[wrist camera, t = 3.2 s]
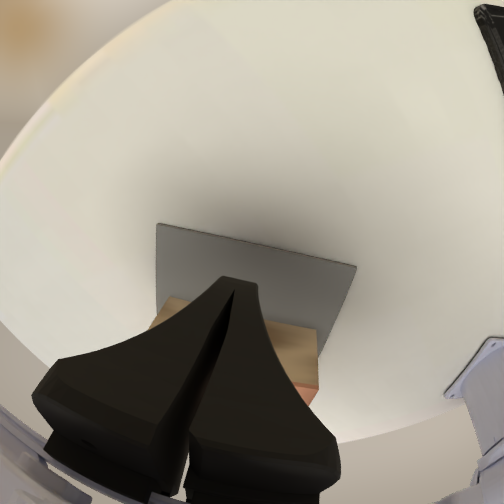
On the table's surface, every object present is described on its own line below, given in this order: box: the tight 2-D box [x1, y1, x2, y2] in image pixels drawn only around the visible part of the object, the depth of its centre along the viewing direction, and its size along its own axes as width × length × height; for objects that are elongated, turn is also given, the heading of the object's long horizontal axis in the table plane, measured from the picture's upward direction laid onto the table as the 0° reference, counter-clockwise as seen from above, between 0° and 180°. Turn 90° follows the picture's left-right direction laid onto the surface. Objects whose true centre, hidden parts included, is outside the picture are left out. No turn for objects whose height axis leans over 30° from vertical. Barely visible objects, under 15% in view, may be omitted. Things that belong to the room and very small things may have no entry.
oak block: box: [148, 296, 319, 406], centre depth 17 cm, size 10×5×5 cm, turn 79°
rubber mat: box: [156, 223, 357, 357], centre depth 21 cm, size 12×21×1 cm, turn 169°
